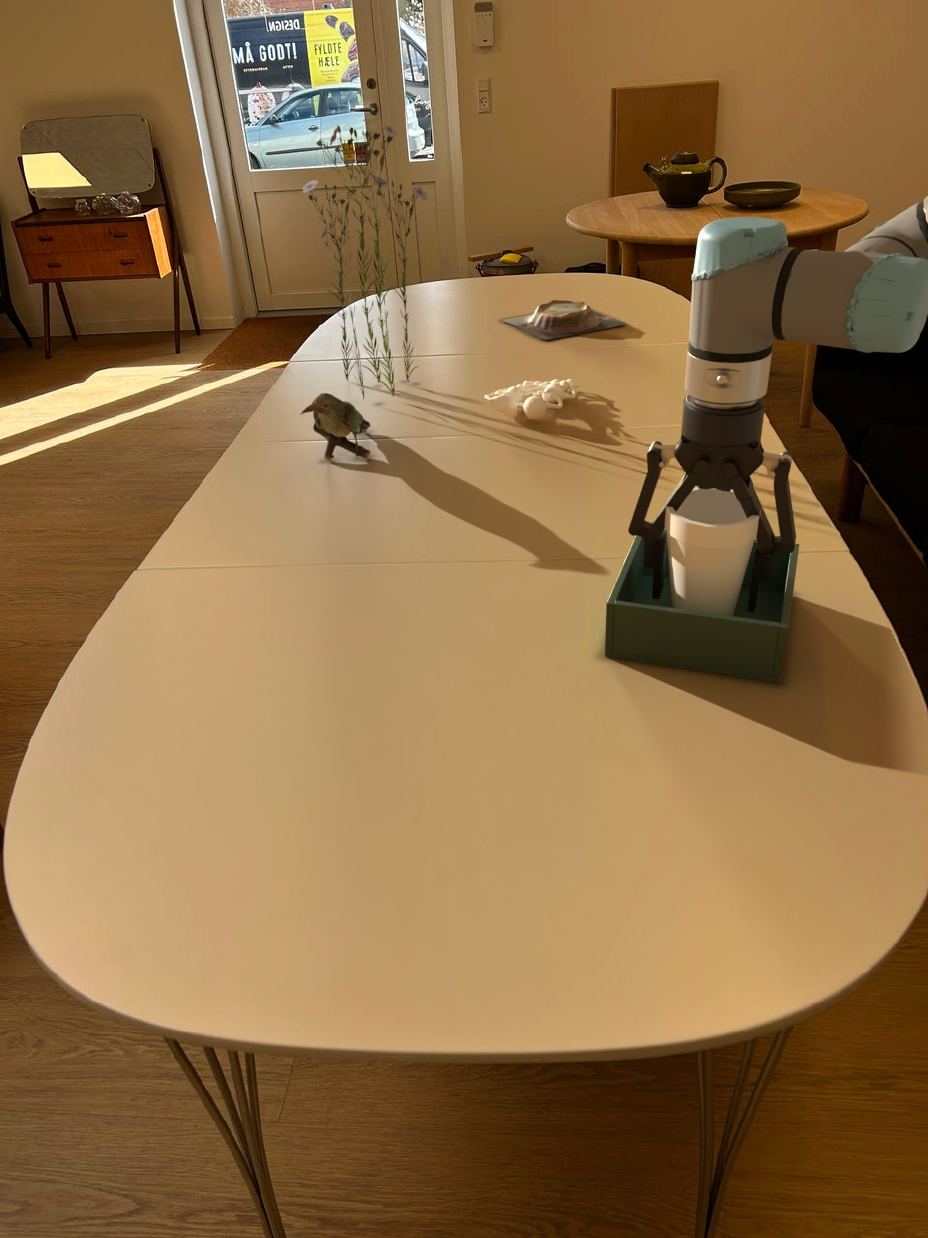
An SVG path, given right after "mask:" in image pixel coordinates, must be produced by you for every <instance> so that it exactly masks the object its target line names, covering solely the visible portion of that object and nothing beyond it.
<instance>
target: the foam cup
mask: <svg viewBox="0 0 928 1238" xmlns="http://www.w3.org/2000/svg"><path fill="white" fill-rule="evenodd" d="M698 488H699V487H698V486H695V487H694V489H693V490H692V492H691V493H690V494H689V496H687V498H686V499H685V500H684V502H683V503H682V505H681V506H680V508H679V509H678V510H677V512H676V511H675V510H674V508H673V507H667V506H666V514H665V529H666V531H667V544H668V558H669V571H670V585H671V599H672V608H675V609H682V610H689V611H697V612H704V613H711V614H719V615H726V616H733V614H734V611H735V607H736V604H737V600H738V597H739V593H740V589H741V586H742V582H743V579H744V575H745V572H746V568H747V564H748V561H749V557H750V554H751V550H752V547H753V543H754V540H755V539H756V537H757V529H758V521H759V516H755V515H752V516H750V517H749V518H747V517H746V515H745V513H744V510H743V508H742V506H741V504H740V502H739V501H738V500H737V498H736V496H735V494H734V492H733V490H731V491H730V492H727V491H721V490H718V489H715V488H713V489H698ZM667 500H669V499H668V498H667ZM667 500H666V501H667ZM667 502H668V501H667ZM666 505H667V504H666ZM762 507H763V506H762ZM762 507H761V509H762ZM760 514H761V512H760Z"/></svg>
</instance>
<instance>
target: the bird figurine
mask: <svg viewBox="0 0 928 1238" xmlns="http://www.w3.org/2000/svg"><path fill="white" fill-rule="evenodd" d="M307 413H312V416H313V420H314V423H313V426H312V429H313V431H314V432H315V433H317V434H319V435H321V436H322V437H323V438H324V439H325V440H326V442H327V444H326V447H325V451H324V457H323V458H324V460H325V461H327V462H330V461H332V460H333V459H335V455H334V451H335V449H336V447H339V448H341V449H344V450H346V451H348V452H350V453H352V454H353V455H355V456H356V458H357V459H358V458H359V457H360V458H363V459H365V460H367V459H369V457H370V455H371V451H370V450H369V449H367V448H365V447H364V446H363V445H359V443H358V438H357V437H358V436H357V435H361V434H362V433H363V434H364V433H367V430H369V428H370V427H371V426H372V425H371V422H369V421H368V420H366V419H365V418H364V416H363V415H362V413H361V412H359V411H358V409H356V407H355V405H353V404H352V403H351V402H350V401H347V400H341V399H340V398H339V397H336V396H335V395H333V394H331V393H327V392H322V393H320V394H319V395H317V396H316V397H315V398H314V399H313V401H312V402H311V404H309V405H308V406H306V407H305V408H304V409H303V410H302V411H301V413H300V414H299V415H303V414H307ZM350 434H352V435H353V437H354V441H355V442H353V441H351V440H349V439H347V436H349V435H350Z"/></svg>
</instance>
